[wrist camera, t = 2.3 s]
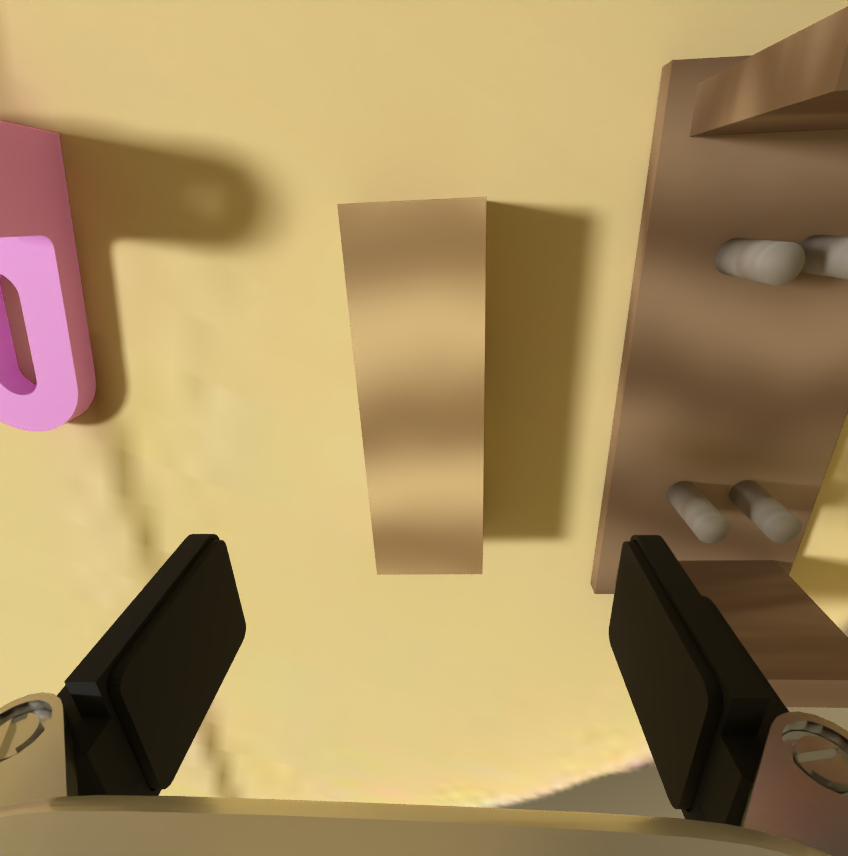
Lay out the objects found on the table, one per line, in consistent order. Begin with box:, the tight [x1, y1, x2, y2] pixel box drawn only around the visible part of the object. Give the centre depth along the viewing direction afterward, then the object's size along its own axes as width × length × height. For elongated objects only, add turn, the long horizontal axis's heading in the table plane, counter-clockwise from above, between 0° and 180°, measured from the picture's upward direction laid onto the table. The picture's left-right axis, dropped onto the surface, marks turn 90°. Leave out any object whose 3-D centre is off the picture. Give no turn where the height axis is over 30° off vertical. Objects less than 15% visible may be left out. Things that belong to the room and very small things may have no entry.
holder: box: [591, 7, 848, 708], centre depth 18 cm, size 24×10×8 cm, turn 2°
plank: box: [337, 197, 486, 574], centre depth 21 cm, size 16×5×4 cm, turn 2°
